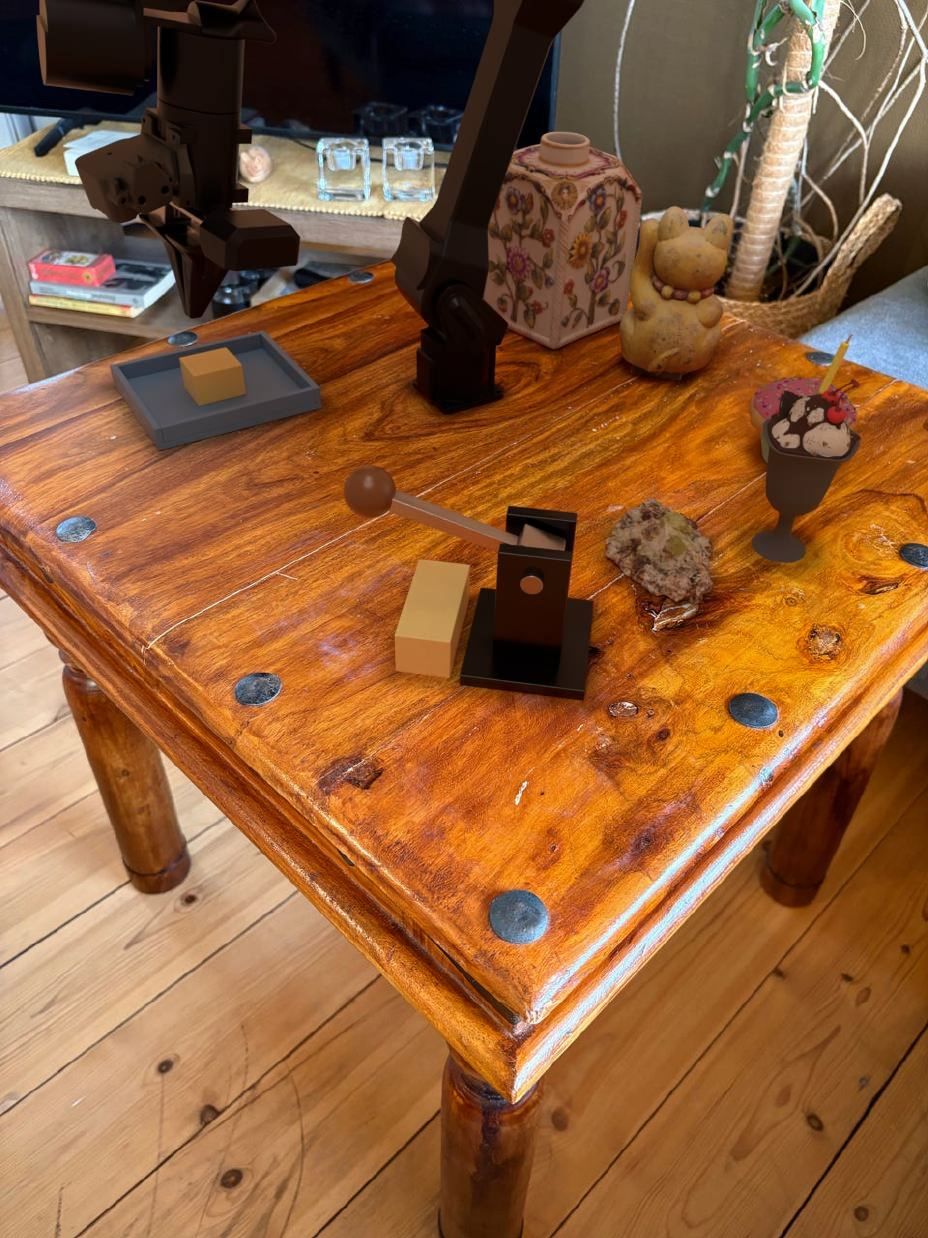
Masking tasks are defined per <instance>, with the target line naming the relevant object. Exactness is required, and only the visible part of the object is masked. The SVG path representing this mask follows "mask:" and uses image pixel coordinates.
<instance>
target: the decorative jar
mask: <svg viewBox="0 0 928 1238" xmlns="http://www.w3.org/2000/svg"><path fill="white" fill-rule="evenodd" d="M642 202H643V192H642V189H640V187H639V186H638V183H637V182H636V180H635V179H634V178H633V176H632V174H631V172H630V171H629V170H628V169H627V167H626V166H625V164H624V163H623V162H622V161H621V159H620V158H619V157H618V156H616V155H613V154H611V153H608V152H605V151H602V150H599V149H597V148H594V147H591V141H590V138H588V137H587V136H585V135H583V134H580V133H576V132H571V131H552V132H551V131H550V132H547V133H545V134H543V135H542V136H541V138H540V143H539V144H533V145H529V146H526V147H523V148H520V149H517V150H514V153H513V156H512V159H511V162H510V165H509V168H508V170H507V173H506V176H505V179H504V182H503V185H502V188H501V191H500V194H499V197H498V199H497V202H496V205H495V208H494V211H493V214H492V217H491V220H490V223H489V227H488V249H489V272H488V277H487V282H486V288H485V293H484V298H483V299H485V300H486V301H487V302H488V303H489V304H490V305H491V306H492V307H493V308H494V309H495V310H496V311H497V312H498V313H499V314H500V315H501V316H502V317H503V318H504V319H505V320H506V321H507V322H508V327H507V330H510V331H512V332H514V333H516V334H518V335H521V336H522V337H523V336H524V337H526V338H528V339H530V340H532V341H533V342H535V343H538V344H540V345H542V346H544V347H546V348H549V349H550V350H553V351H554V350H557V349H561V348H562V347H564V346H566V345H570V344H572V343H573V342H575V341H578V340H579V339H582V338H584V337H587V336H590V335H592V334H594V333H597V332H598V331H601V330H603V329H605V328H608V327H609V326H612V325H615V324H617V323H620V322H621V320H622V318H623V316H624V314H625V312H626V311H627V310H628V309H629V308H628V307H629V299H630V296H631V295H630V276H631V270H632V267H633V264H634V261H635V258H636V253H637V252H636V251H637V243H638V242H637V241H638V236H639V226H640V218H641V217H640V216H641V212H642V211H641V209H642Z"/></svg>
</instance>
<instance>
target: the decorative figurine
mask: <svg viewBox="0 0 928 1238" xmlns="http://www.w3.org/2000/svg"><path fill="white" fill-rule="evenodd" d="M638 230H639V241H638V248H637V250H636V251H637V252H636V254H635V260H634V264H633V267H632V270H631V276H630V295H629V296H630V300H631V301H630V302H631V304H632V307H629V308H627V311H626V312H625V314H624V316H623V318H622V320H621V321H619V323H620V324H619V340H620V341H619V342H620V354H621V356H622V358H623V360H624V361H626V362H628V363H629V364H631V367H630V370H629V373H630V374H638V375H639V374H640V375H645V376H651V377H656V378H661V379H667V380H672V381H675V382H676V381H677V382H679V381H681V380H682V377H683V375H685V374H686V375H687V374H688V373H691V372H696V371H697V370H700V369H703V368H704V367H705V366H706V365H707V364H708V363H709V362H710V360H711V358H712V357H713V355H714V353H715V352H716V350H717V349H718V348H719V346H720V343H721V341H722V336H723V335H722V334H723V330H722V325H721V322H720V320H721V319H722V317H723V315H724V306H723V303H722V301H721V300H720V299H719V298H718V296H717V295H716V294H715V293H714V292H715V288H714V285H715V284H716V283H717V282H718V281H719V280H720V279H721V277H722V276H723V274H724V272H725V270H726V267H727V264H728V249H729V246H730V244H731V243H730V242H731V239H732V236H733V231H734V221H733V218H732V217H731V216H730V215H728V214H726V213H718V214H717V215H715V216H713V217H712V218H711V219H710V220H709V221H708V222H707V224H705V226H704V228H700V227H697V226H690V223H689V220H688V215H687V213H686V211H685V210H683V209H682V207H679V206H677V205H673V206H670V207H669V208H667V209H666V210H665V212H664V213H663V214H662V216H661V218H660V220H659V219H657V218H646V219H644V220H642V221H641V223H639V227H638Z"/></svg>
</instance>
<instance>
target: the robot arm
mask: <svg viewBox="0 0 928 1238" xmlns="http://www.w3.org/2000/svg"><path fill="white" fill-rule="evenodd" d="M585 2H586V0H493V18H492V22H491V26H490V29H489V32H488V35H487V39H486V41H485V45H484V47H483V51H482V54H481V57H480V61H479V63H478V67H477V70H476V74H475V77H474V81H473V83H472V86H471V89H470V92H469V96H468V99H467V102H466V104H465V105H466V106H465V108H464V112H463V115H462V117H461V121H460V125H459V127H458V130H457V134H456V137H455V141H454V144H453V147H452V149H451V152H450V156H449V159H448V163H447V166H446V169H445V172H444V176H443V178H442V182H441V185H440V188H439V192H438V193H437V194H438V195H437V198H436V200H435V202H434V204H433V206H432V207H431V208H430V209H429V210H428V212H427V213H426V214H425V215H424V216H423V217H422V219H421V220H420V221H419V220H416V219H415V218H412V217H410V216H405V218H404V221H403V223H402V228H401V234H400V241H399V244H398V246H397V249H396V251H395V252H394V254H392V256H391V258H390V263H392V264H393V265H394V267H395V269H394V270H395V271H394V283H395V285H396V288H397V289H398V291H399V293H400V295H401V297H403V299H404V300H405V301H406V302H407V303H408V304H409V306H410V307H411V308H412V309H413V310H414V311H415V312H416V313H417V314H418V315H419V317H420V318H421V319H422V320H423V321H424V322H425V323H426V324H427V325H428V326H427V327H424V328H421V329H420V347H417V348H416V352H415V356H416V357H415V358H416V360H415V361H416V363H415V364H416V377H415V378H413V379H412V386H413V387H414V388H415V389H416V390H417V391H419V392H420V393H421V394H422V395H423V396H424V397H425V398H427V400H428V401H429V402H431V404H433V405H434V406H435V407H436V408H437V409H439V410H440V411H441V412H443V413H444V414H451V413H453V412H454V413H455V412H457V411H461V410H464V409H469V408H472V407H475V406H479V405H482V404H486V403H489V402H493V401H497V400H500V399H503V398H504V390H503V389H501V388H500V387H499V386H498V385H496V384H495V380H496V379H495V378H496V363H497V362H496V361H497V347H499V346H501V345H502V343H503V340H504V338H505V335H506V333H507V330H508V328H507V327H508V322H507V321H506V320H505V319H504V318H503V317H502V316H501V315H500V314H499V313H498V312H497V311H496V310H495V309H494V308H493V307H492V306H491V305H490V304H489V303H488V302H487V301H486V300H485V299H483V298H484V293H485V288H486V282H487V277H488V272H489V249H488V227H489V223H490V220H491V217H492V214H493V211H494V208H495V205H496V202H497V199H498V197H499V194H500V191H501V188H502V185H503V182H504V179H505V176H506V173H507V170H508V168H509V165H510V162H511V159H512V156H513V153H514V151H516V147H517V145H518V141H519V138H520V135H521V133H522V129H523V126H524V125H525V121H526V118H527V116H528V112H529V109H530V106H531V104H532V102H533V98H534V95H535V92H536V89H537V87H538V83H539V81H540V78H541V75H542V72H543V69H544V66H545V64H546V59H547V58H548V55H549V51H550V49H551V46H552V44H553V42H554V40H555V39H556V37H557V36H558V35H559V34H560V33H561V31H562V30H563V29H564V28H565V26H567V25H568V23H569V22H570V21H571V20H572V18H573V17H574V16H575V15H576V14H578V12H579V10H580V9H581V8H582V7H583V5H584V3H585ZM186 6H188V8H187V10H186V12H182V11H180V10H181V9H183V8H185V7H186ZM178 11H180V12H178ZM152 27H157V83H156V84H157V88H156V89H157V93H156V95H157V96H156V97H157V99H156V100H157V101H156V106H157V107H155V108H154V107H145V108H144V113H143V114H142V115H141V117H140V118H141V121H140V123H141V124H140V126H141V128H140V133H139V134H136V135H134V136H131V137H126V138H121V139H118V140H115V141H113V142H110V143H108V144H106V145H104V146H101V147H99V148H96V149H93V150H91V151H88V152H87V153H84V154H82V155H79V156H78V157H77V158H75V160H74V165H75V169H76V170H77V174H78V175H79V179H80V182H81V184H82V187H83V190H84V192H85V195H86V197H87V200H88V203H89V206H90V207H91V208H92V209H94V210H98V211H99V212H100V213H102V214H103V215H105V216H106V218H107V219H108V220H109V221H110V222H112V223H115V224H126V223H129V222H131V221H133V220H136V219H137V217H138V218H139V220H140V222H142V223H143V224H144V225H145V226H147V227H148V228H149V229H150V230H151V231H152V232H153V233H154V234H155V235H156V236H157V237H158V238H159V240H161V241H162V244H163V245H164V248H165V251H166V254H167V257H168V261H169V263H170V266H171V270H172V273H173V277H174V281H175V284H176V289H177V291H178V295H179V298H180V302H181V306H182V309H183V313H184V315H185V316H186V317H188V318H189V319H191V320H195V319H200V318H202V317H203V316H204V314H205V312H206V311H207V309H208V307H209V305H210V304H211V302H212V300H213V298H214V296H215V295H216V293H217V292H218V290H219V288H220V287H221V285H222V283H223V281H224V280H225V278H226V276H227V275H228V273H229V271H231V272H243V271H244V272H245V271H257V270H265V269H277V268H286V267H296V266H297V265H298V263H299V255H300V245H301V235H299V233H298V232H297V231H296V230H295V228H294V227H293V225H292V224H291V223H289V222H287V221H285V220H284V219H282V218H281V217H279V216H277V215H275V214H274V213H272V212H270V211H269V210H267V209H265V208H257V209H256V208H255V209H238V208H236V207H234V205H233V204H248V203H249V195H250V188H249V187H247V186H245V185H244V184H242V183H240V182H239V180H238V179H239V160H240V159H239V157H240V145H252V143H253V128H251V127H249V126H248V125H246V124H244V123H242V121H241V120H242V103H243V102H242V101H243V87H244V86H243V85H244V82H243V81H244V65H245V47H246V46H245V45H246V41H251V42H258V43H265V44H274V43H275V42H276V40H277V34H276V32H275V31H274V30H273V29H272V28H271V27H270V26H269V24H268V23H267V22H266V20H265V19H264V17H263V16H262V14H261V12H260V9H259V7H258V4H257V2H256V0H237V1H236V2H235V3H233V4H232V5H228V4H221V3H215V2H209V1H203V0H39V14H38V15H37V14H36V28H37V29H36V32H37V44H38V54H39V64H40V72H41V79H42V83H43V85H44V86H50V87H51V86H52V87H58V88H59V87H60V88H67V89H75V90H83V91H91V92H92V91H93V92H101V93H109V94H119V95H127V96H134V94H135V92H136V88H137V87H145V82H150V81H151V77H152V70H153V40H152V39H153V37H152ZM136 86H137V87H136Z"/></svg>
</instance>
